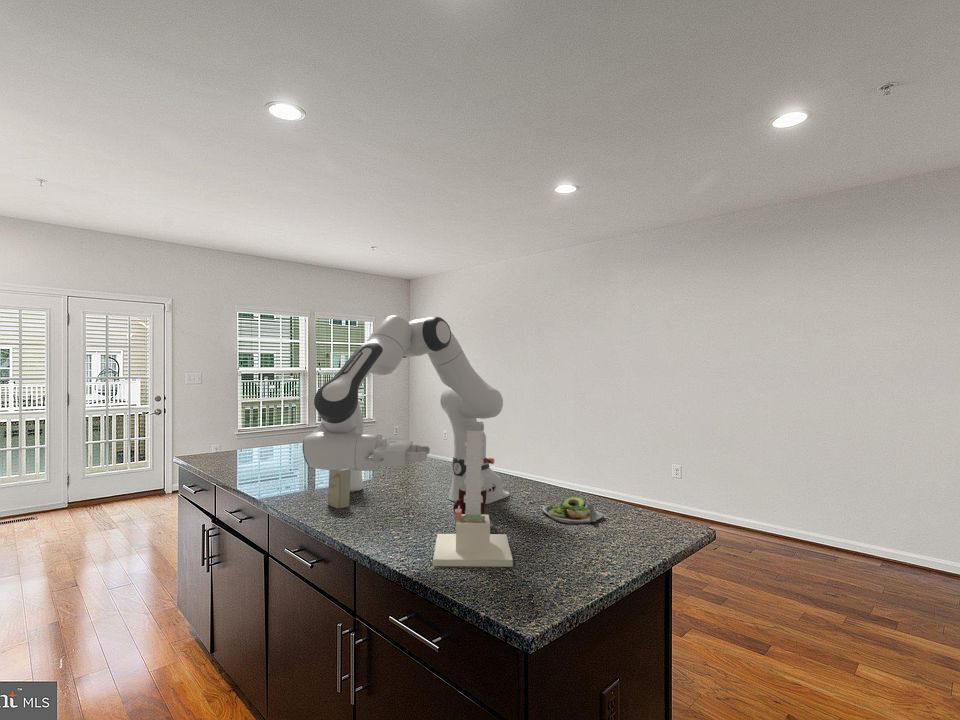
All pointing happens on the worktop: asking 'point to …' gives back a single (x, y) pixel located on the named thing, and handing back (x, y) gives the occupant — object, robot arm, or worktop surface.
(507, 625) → the worktop surface
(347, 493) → the skincare box
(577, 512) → the salad plate
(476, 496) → the column
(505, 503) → the worktop surface
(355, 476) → the vodka
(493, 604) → the worktop surface
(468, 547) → the stand
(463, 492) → the mug
